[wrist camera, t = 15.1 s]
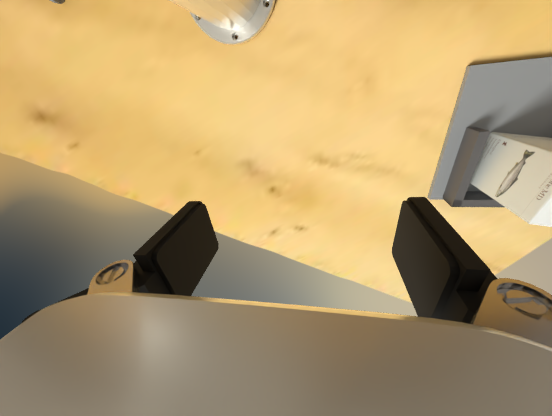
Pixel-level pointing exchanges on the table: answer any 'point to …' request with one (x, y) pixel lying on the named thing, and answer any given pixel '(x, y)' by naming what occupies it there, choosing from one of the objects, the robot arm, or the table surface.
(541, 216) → the supplement box
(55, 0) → the toy car
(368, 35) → the table surface
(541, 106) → the box holder
